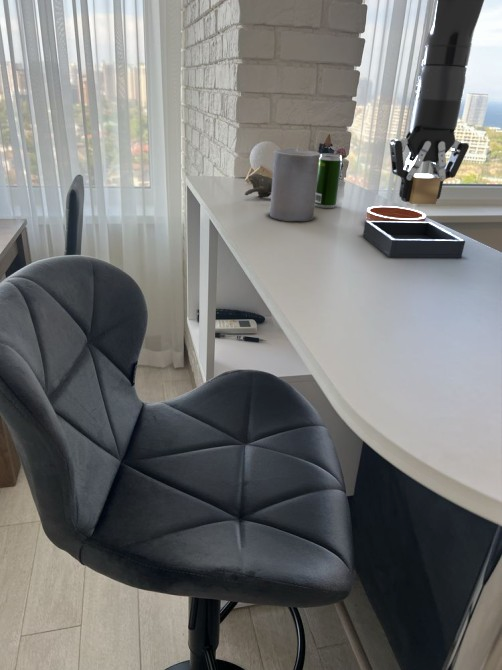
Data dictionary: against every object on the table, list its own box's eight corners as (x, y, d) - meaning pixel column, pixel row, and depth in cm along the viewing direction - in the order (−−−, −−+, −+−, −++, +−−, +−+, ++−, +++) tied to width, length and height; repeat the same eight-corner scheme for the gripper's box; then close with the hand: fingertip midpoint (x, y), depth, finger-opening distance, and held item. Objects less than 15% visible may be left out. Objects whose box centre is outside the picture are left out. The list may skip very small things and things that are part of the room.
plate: (408, 220, 115) (410, 206, 114) (433, 234, 104) (436, 219, 103) (357, 219, 113) (359, 205, 112) (376, 233, 102) (379, 218, 101)
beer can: (326, 209, 120) (332, 156, 115) (309, 205, 124) (314, 153, 119) (340, 207, 124) (346, 155, 119) (323, 202, 127) (328, 152, 122)
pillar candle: (283, 209, 118) (289, 141, 111) (321, 217, 113) (329, 146, 106) (261, 216, 110) (265, 143, 104) (299, 224, 106) (307, 149, 99)
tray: (427, 237, 102) (430, 221, 101) (461, 258, 90) (465, 240, 88) (362, 236, 100) (365, 220, 98) (389, 257, 88) (392, 240, 86)
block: (424, 198, 94) (429, 173, 92) (435, 204, 90) (441, 178, 88) (401, 198, 93) (406, 173, 91) (411, 203, 89) (416, 177, 87)
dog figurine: (290, 197, 131) (292, 168, 128) (292, 202, 126) (295, 171, 123) (244, 195, 131) (245, 165, 127) (244, 200, 125) (245, 169, 122)
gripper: (406, 96, 79) (388, 205, 87) (490, 99, 81) (465, 206, 89) (388, 94, 86) (373, 196, 94) (466, 98, 88) (445, 197, 96)
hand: (418, 200), depth 91 cm, fingers closed on block, 4 cm apart
